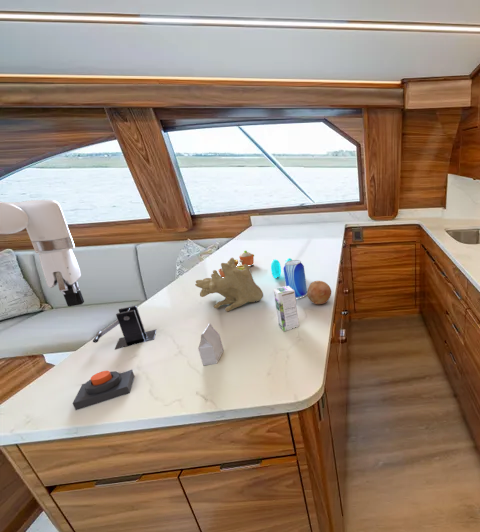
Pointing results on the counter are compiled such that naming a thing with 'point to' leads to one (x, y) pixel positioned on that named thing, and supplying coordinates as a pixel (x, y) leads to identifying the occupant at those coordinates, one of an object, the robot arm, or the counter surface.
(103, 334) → the lever
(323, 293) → the coconut
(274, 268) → the cyan lobed shape
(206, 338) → the pale grey crystal
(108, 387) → the control block
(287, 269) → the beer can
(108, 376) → the button
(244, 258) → the toy tea set
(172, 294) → the counter surface
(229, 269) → the decorative coral
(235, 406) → the counter surface
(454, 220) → the counter surface
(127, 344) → the bracket
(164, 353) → the counter surface
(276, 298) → the syrup box
